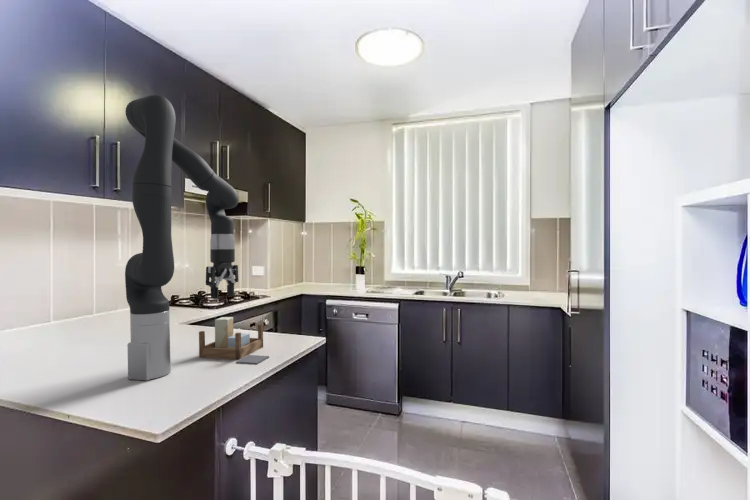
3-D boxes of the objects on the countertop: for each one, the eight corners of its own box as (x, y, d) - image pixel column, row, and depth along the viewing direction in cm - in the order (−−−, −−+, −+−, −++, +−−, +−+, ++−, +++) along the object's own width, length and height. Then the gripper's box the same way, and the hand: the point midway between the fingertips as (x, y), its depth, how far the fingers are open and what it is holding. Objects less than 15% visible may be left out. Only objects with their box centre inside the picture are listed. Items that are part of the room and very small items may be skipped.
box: (227, 353, 122) (227, 319, 122) (214, 353, 122) (214, 319, 122) (234, 349, 127) (233, 316, 127) (221, 349, 128) (221, 316, 127)
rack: (239, 359, 116) (238, 333, 116) (199, 357, 119) (198, 331, 119) (263, 347, 130) (262, 323, 130) (227, 345, 133) (226, 322, 133)
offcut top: (239, 347, 119) (238, 338, 119) (227, 347, 120) (227, 337, 120) (249, 342, 125) (249, 333, 125) (239, 342, 126) (239, 333, 126)
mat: (257, 364, 111) (257, 362, 111) (235, 362, 112) (235, 361, 112) (269, 357, 117) (269, 356, 117) (248, 356, 119) (248, 354, 119)
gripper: (219, 248, 117) (219, 300, 117) (244, 248, 131) (245, 294, 131) (198, 248, 119) (198, 299, 119) (225, 248, 133) (225, 294, 133)
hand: (223, 297), depth 125 cm, fingers open, 8 cm apart
